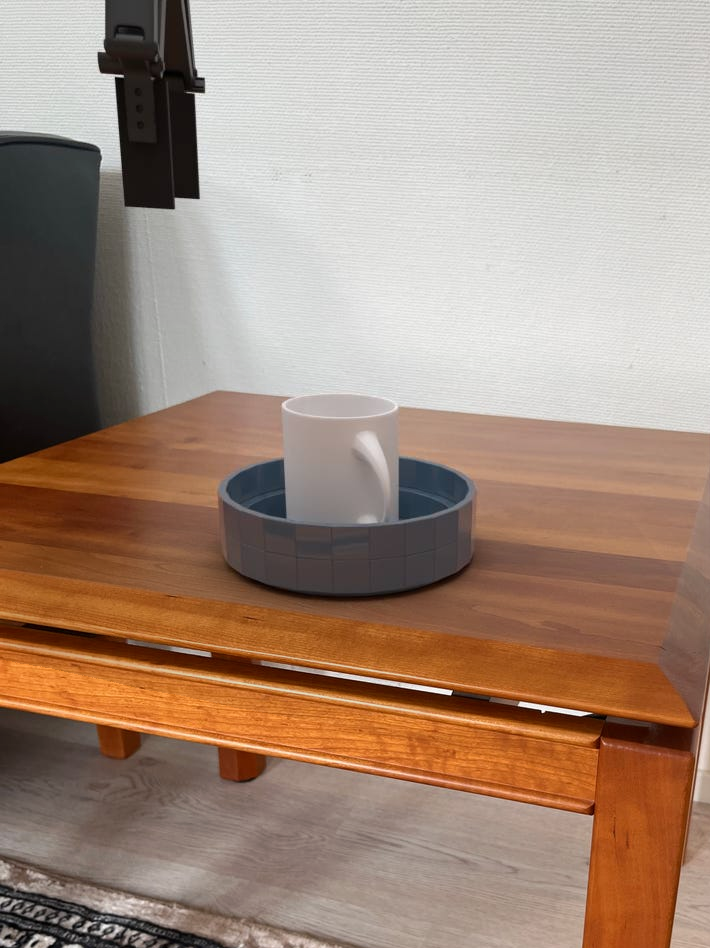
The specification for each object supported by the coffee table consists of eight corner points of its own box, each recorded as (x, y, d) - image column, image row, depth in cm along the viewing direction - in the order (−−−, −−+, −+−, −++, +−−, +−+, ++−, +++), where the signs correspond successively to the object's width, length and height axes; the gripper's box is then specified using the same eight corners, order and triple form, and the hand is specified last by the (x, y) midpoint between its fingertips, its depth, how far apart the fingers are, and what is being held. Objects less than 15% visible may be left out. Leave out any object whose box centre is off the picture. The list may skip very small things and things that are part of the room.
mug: (332, 583, 72) (328, 433, 67) (271, 533, 81) (264, 397, 77) (439, 564, 76) (442, 421, 72) (369, 518, 85) (368, 389, 81)
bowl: (210, 603, 69) (203, 526, 67) (235, 515, 87) (231, 451, 84) (488, 599, 72) (492, 525, 70) (459, 514, 89) (461, 452, 87)
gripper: (183, -301, 45) (207, 217, 54) (228, -152, 67) (240, 198, 76) (3, -325, 44) (58, 208, 53) (110, -165, 66) (136, 191, 75)
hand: (166, 203), depth 65 cm, fingers open, 13 cm apart
